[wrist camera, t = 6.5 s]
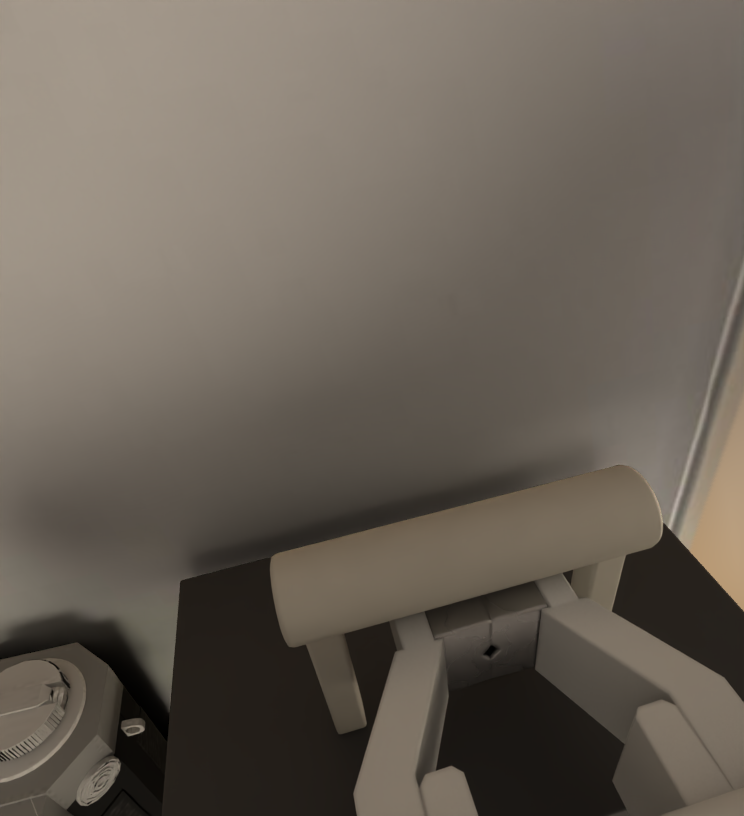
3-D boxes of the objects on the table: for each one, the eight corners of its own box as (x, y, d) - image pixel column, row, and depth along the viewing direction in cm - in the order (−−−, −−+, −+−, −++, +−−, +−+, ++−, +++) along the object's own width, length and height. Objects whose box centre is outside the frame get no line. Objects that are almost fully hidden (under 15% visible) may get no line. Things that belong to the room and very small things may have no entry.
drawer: (101, 435, 11) (-37, 883, 5) (646, 313, 12) (1019, 558, 7) (288, 780, 22) (311, 1050, 16) (568, 693, 23) (683, 914, 17)
